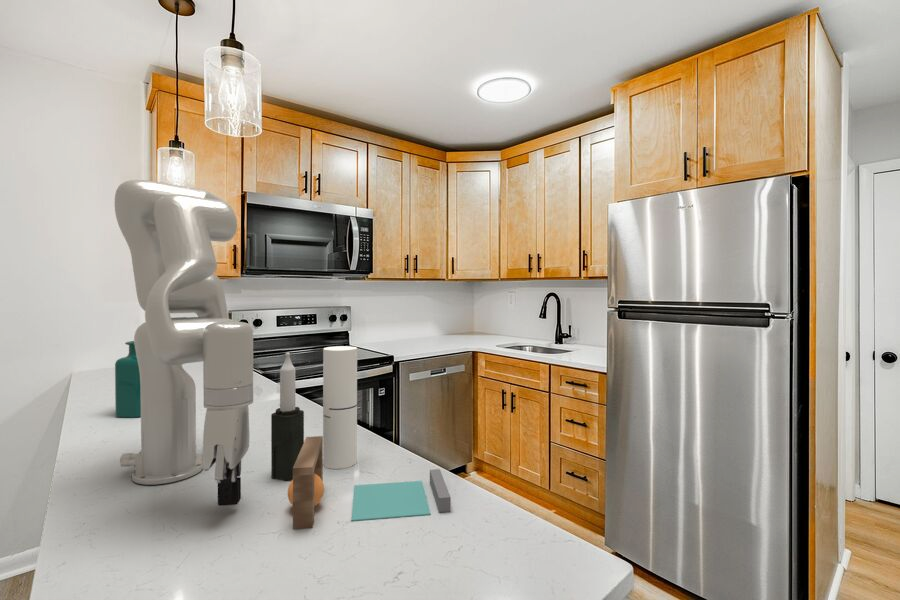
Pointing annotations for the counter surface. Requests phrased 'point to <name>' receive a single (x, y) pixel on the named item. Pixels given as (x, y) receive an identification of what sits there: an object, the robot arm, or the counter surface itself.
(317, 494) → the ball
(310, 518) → the bridge
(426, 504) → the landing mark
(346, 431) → the cylindrical container
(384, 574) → the counter surface
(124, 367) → the teal green bottle
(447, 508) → the wall
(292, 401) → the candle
